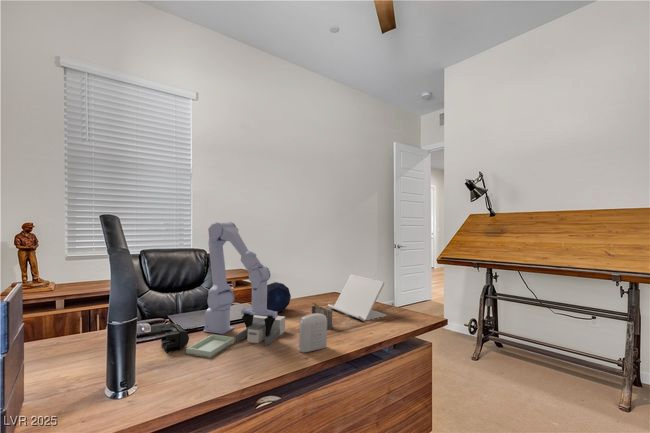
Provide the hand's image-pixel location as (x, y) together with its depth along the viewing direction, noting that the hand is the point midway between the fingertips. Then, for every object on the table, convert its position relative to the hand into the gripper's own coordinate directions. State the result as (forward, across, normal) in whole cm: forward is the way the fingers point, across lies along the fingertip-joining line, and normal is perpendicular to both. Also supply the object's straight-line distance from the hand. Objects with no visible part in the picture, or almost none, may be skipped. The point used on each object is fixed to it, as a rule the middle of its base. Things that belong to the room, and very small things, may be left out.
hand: (258, 334), depth 125 cm
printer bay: (+1, 0, +2) cm, 3 cm away
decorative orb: (+2, -10, +36) cm, 37 cm away
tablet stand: (+2, +28, +47) cm, 55 cm away
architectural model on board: (+2, +18, +23) cm, 29 cm away
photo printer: (+2, +23, -3) cm, 23 cm away
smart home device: (+2, -41, -5) cm, 41 cm away
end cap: (+2, -24, -17) cm, 29 cm away
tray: (+1, -11, -14) cm, 18 cm away
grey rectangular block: (+2, 0, 0) cm, 2 cm away
